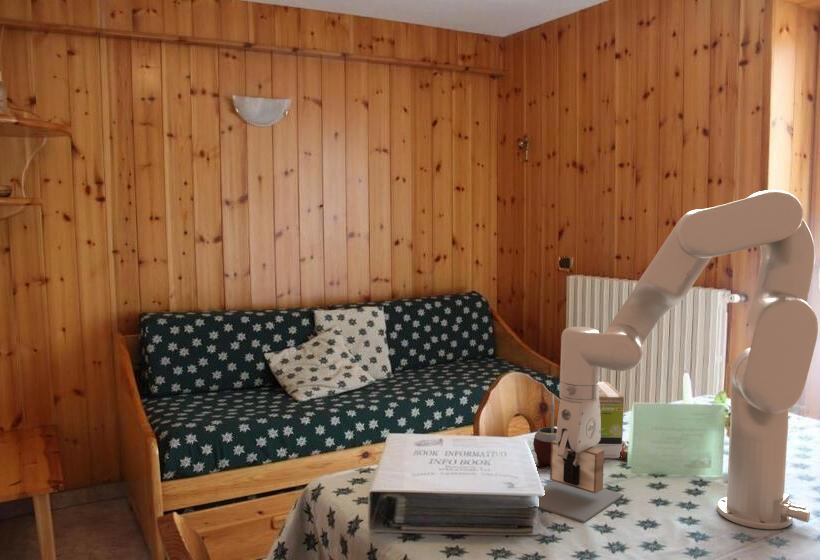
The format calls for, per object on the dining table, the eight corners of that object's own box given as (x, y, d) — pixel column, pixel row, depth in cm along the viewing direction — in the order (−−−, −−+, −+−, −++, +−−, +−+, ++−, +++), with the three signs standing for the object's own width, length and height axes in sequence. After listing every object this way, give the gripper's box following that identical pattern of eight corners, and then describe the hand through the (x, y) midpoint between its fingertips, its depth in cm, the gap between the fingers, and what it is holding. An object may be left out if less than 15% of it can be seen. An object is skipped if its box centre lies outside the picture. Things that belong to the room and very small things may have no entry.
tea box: (623, 459, 161) (625, 396, 159) (579, 459, 161) (580, 395, 160) (606, 437, 176) (608, 379, 174) (566, 437, 176) (567, 379, 174)
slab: (602, 489, 138) (604, 449, 137) (595, 493, 136) (596, 453, 135) (557, 475, 145) (558, 438, 144) (549, 480, 142) (551, 441, 142)
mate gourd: (545, 473, 152) (547, 405, 151) (524, 461, 159) (525, 397, 158) (573, 468, 155) (575, 401, 154) (551, 457, 162) (553, 393, 161)
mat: (623, 496, 140) (623, 494, 140) (584, 522, 128) (584, 520, 128) (561, 478, 150) (561, 476, 149) (519, 501, 138) (519, 499, 138)
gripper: (575, 402, 130) (572, 498, 132) (616, 386, 142) (612, 474, 144) (540, 394, 135) (537, 487, 137) (582, 379, 147) (579, 464, 149)
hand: (576, 479), depth 140 cm, fingers closed on slab, 3 cm apart
